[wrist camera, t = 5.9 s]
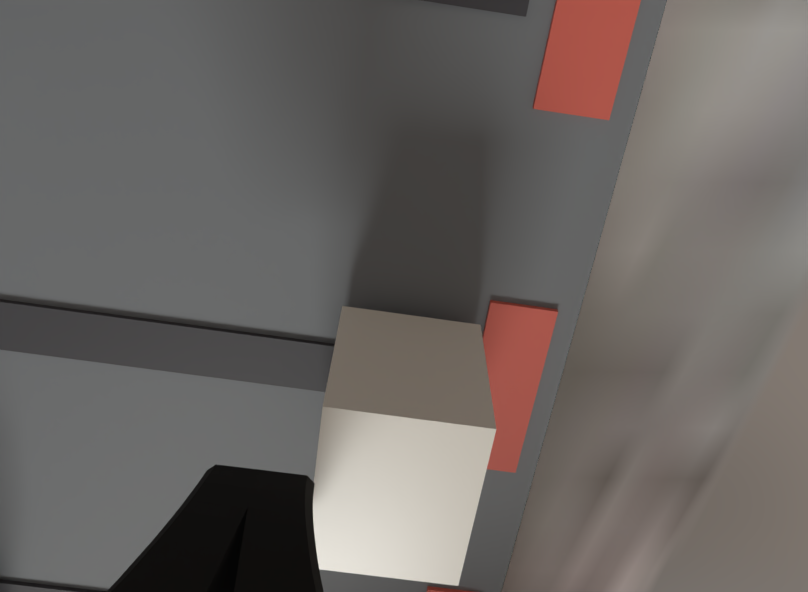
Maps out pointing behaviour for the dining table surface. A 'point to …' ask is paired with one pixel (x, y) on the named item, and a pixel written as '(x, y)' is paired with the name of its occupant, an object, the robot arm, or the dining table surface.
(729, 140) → the dining table surface
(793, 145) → the dining table surface
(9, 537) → the breaker panel
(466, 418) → the handle mid
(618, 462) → the dining table surface
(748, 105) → the dining table surface
